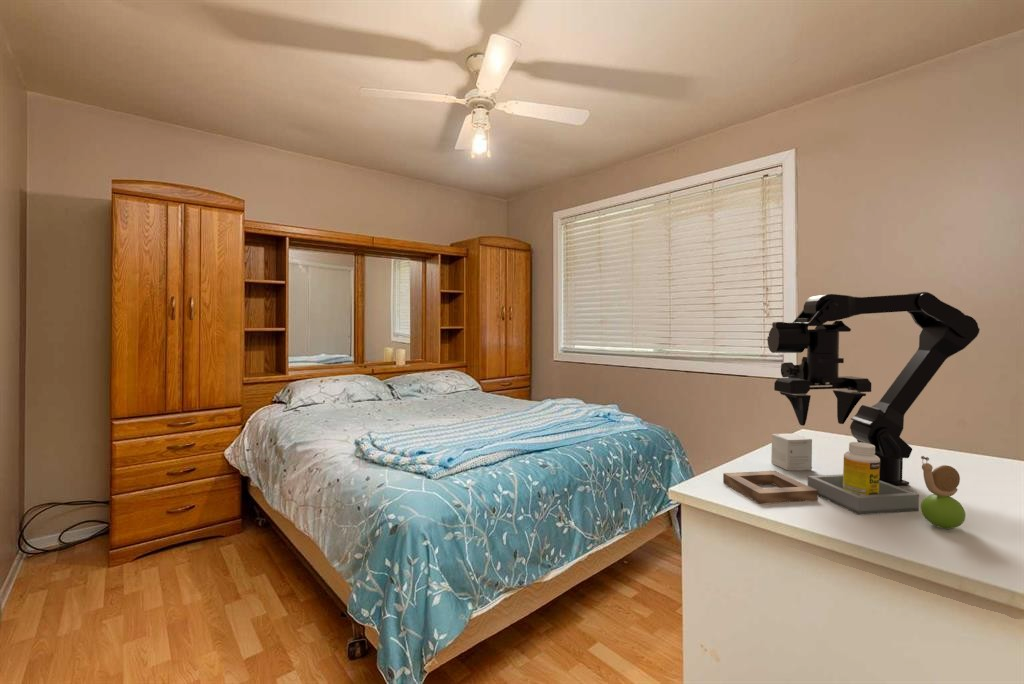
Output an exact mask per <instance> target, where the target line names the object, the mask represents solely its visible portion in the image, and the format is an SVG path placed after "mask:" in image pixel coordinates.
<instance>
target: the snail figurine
mask: <svg viewBox="0 0 1024 684" xmlns="http://www.w3.org/2000/svg"><path fill="white" fill-rule="evenodd" d="M920 458H921V459H922V462H923V463H922V465H921V470H922V471H923V480H924V483H925V487H926V489H927V490H928V492H930V493H931V494H930V495H928V496H926V497H924V499H923V500H922V501H921V504H920V512H921V514H922V515H923V517H924V518H925V520H926V521H928V523H930V524H931V525H933V526H935V527H937V528H941V529H944V530H945V529H947V530H949V529H956V528H958V527H961V525H963V523H964V522H965V521H966V510H965V508H964V507H963V505H962V504H961V502H959V501H958V500H956V498H954V497H952V496H954V495H955V494H956V493H958V490H959V489H958V487H959V485H960V482H961V476H960V474H959V471H958V470H957V469H956V468H955V467H953V466H952V465H951V466H950V465H946V464H943V465H940V466H936V467H935V468H934V469H933V465H932V464H931V463H928V461H929V460H930V458H929V457H928V456H925V455H922V456H920ZM924 460H925V461H926V462H924Z"/></svg>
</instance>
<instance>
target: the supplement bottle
mask: <svg viewBox="0 0 1024 684" xmlns="http://www.w3.org/2000/svg"><path fill="white" fill-rule="evenodd" d="M874 454H875V446H874V445H872V444H868V443H862V442H858V441H850V442H849V443H848V451H846V452H844V453H843V469H842V471H843V472H842V474H843V489H844V490H847V491H849V492H851V493H854V494H856V495H858V496H864V495H879V478H880V458H879V457H878V456H876V455H874Z"/></svg>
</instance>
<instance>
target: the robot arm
mask: <svg viewBox="0 0 1024 684" xmlns="http://www.w3.org/2000/svg"><path fill="white" fill-rule="evenodd" d="M897 312H898V313H901V312H907V313H908V314H910V317H911V318H912V319H913V320H912V321H913V322H914V323H915V324H916V325H917V326H918V327H919V328H920V329H921V331H920V334H919V339H918V340H919V341H918V342H919V343H918V348H917V350H916V351H915V353H914V354H913V356H912V357H911V358H910V360H909V361H908V362H907V363H906V365H905V366H904V367H903V369H902V370H901V372H900V373H899V374H898V375H897V377H896V378H895V379H894V381H893V382H892V384H891V385H890V386H889V387H888V389H887V390H886V392H885V393H884V394H883V396H882V397H881V398H880V400H879V401H878V402H877V403H875V404H873V405H872V406H870V405H866V404H862V405H861V406H860V407H859V409H858V410H857V412H856V414H855V415H854V416H852V417H850V420H852V421H851V423H850V425H849V429H850V433H851V435H852V437H853V438H855V440H856V442H862V443H868V444H872V445H874V446H875V454H874V455H876V456H878V457H879V458H880V478H879V480H881V481H883V482H886V483H889V484H891V485H894V486H907V485H910V482H909V480H908V481H907V480H905V479H903V468H904V467H903V462H904V461H903V460H904V459H909V458H910V456H911V454H912V451H913V447H912V446H910V445H909V444H908V442H906V441H905V440H904V439H902V438H901V435H902V433H903V431H904V425H905V423H904V422H905V415H906V413H907V412H908V410H910V408H911V406H913V404H914V402H916V400H917V399H918V397H919V396H920V395H921V393H922V392H923V391H924V389H925V388H926V387H927V386H928V384H929V383H930V382H931V380H932V378H934V376H935V375H936V373H937V372H938V371H939V369H941V368H942V367H941V366H943V365H944V363H945V362H946V360H947V359H949V358H950V357H952V356H953V355H955V354H957V353H960V352H961V351H963V350H964V349H965V348H967V347H968V346H969V345H970V344H971V343H972V342H973V341H974V340H975V339H976V338H977V337H978V335H980V330H981V328H980V327H979V323H978V322H977V320H976V319H975V318H974V317H972V316H970V315H967V314H966V313H964V312H963V311H962V310H960V309H958V308H957V307H956V308H955V307H954V306H952V305H950V304H949V303H946V302H944V301H943V300H941V299H939V298H938V297H936V296H935V295H934V294H932V293H930V292H928V291H922V292H921V291H920V292H919V291H918V292H911V293H907V294H892V295H880V296H879V295H876V296H863V297H861V296H852V295H846V294H844V295H843V294H836V293H835V294H834V293H827V294H818V295H813V296H810V297H808V298H807V300H806V301H805V303H804V304H803V309H802V311H801V312H800V313H799V314H798V315H797V316H796V318H795V319H794V320H793V322H784V321H773V322H771V323H772V325H771V326H772V327H771V328H770V330H769V332H768V336H767V347H768V349H769V351H770V352H771V353H772V354H775V353H776V354H783V353H784V354H785V353H786V354H789V353H790V354H793V353H796V354H801V353H803V352H804V351H805V350H806V352H807V353H806V356H802V358H801V363H800V364H794V363H793V362H791V361H789V362H783V363H781V365H780V374H781V377H778V378H777V379H776V380H775V381H774V388H773V389H774V391H777V392H779V393H780V395H781V396H785V398H786V399H787V400H788V401H789V403H790V404H791V406H792V409H793V411H794V414H795V417H796V418H797V421H798V424H799V425H800V426H801V427H802V426H806V423H807V419H808V414H809V408H810V402H811V396H812V395H810V394H808V392H809V391H811V390H832V393H833V394H834V396H835V397H836V403H837V404H836V408H837V409H836V411H837V412H836V413H837V414H836V418H837V423H838V424H839V425H844V424H845V422H846V421H847V419H848V418H849V416H850V414H851V413H852V411H853V410H854V408H855V407H856V406H857V404H858V403H859V402H860V401H861V400H862V398H863V397H866V396H867V393H871V392H872V382H871V381H870V379H869V378H867V377H859V376H858V377H857V376H850V375H849V376H847V375H846V376H839V373H840V372H839V369H840V368H839V366H840V365H839V364H844V363H845V361H844V359H845V358H843V357H840V333H841V332H843V333H845V332H847V333H850V332H851V331H852V328H850V327H849V326H848V325H846V324H845V323H844V321H843V319H849V318H851V317H856V316H858V315H868V314H869V315H870V314H886V313H897ZM827 322H833V323H827ZM809 327H815V328H814V329H811V328H810V329H809Z"/></svg>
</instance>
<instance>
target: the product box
mask: <svg viewBox="0 0 1024 684" xmlns="http://www.w3.org/2000/svg"><path fill="white" fill-rule="evenodd" d="M770 461H771V464H772V465H775V466H777V467H780V468H782V469H784V470H786V471H787V472H791V471H811V470H812V469H813V467H812V466H813V464H812V462H813V439H812V438H810V437H808V436H807V437H806V436H804V435H800V434H799V433H772V434H771V457H770Z"/></svg>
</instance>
